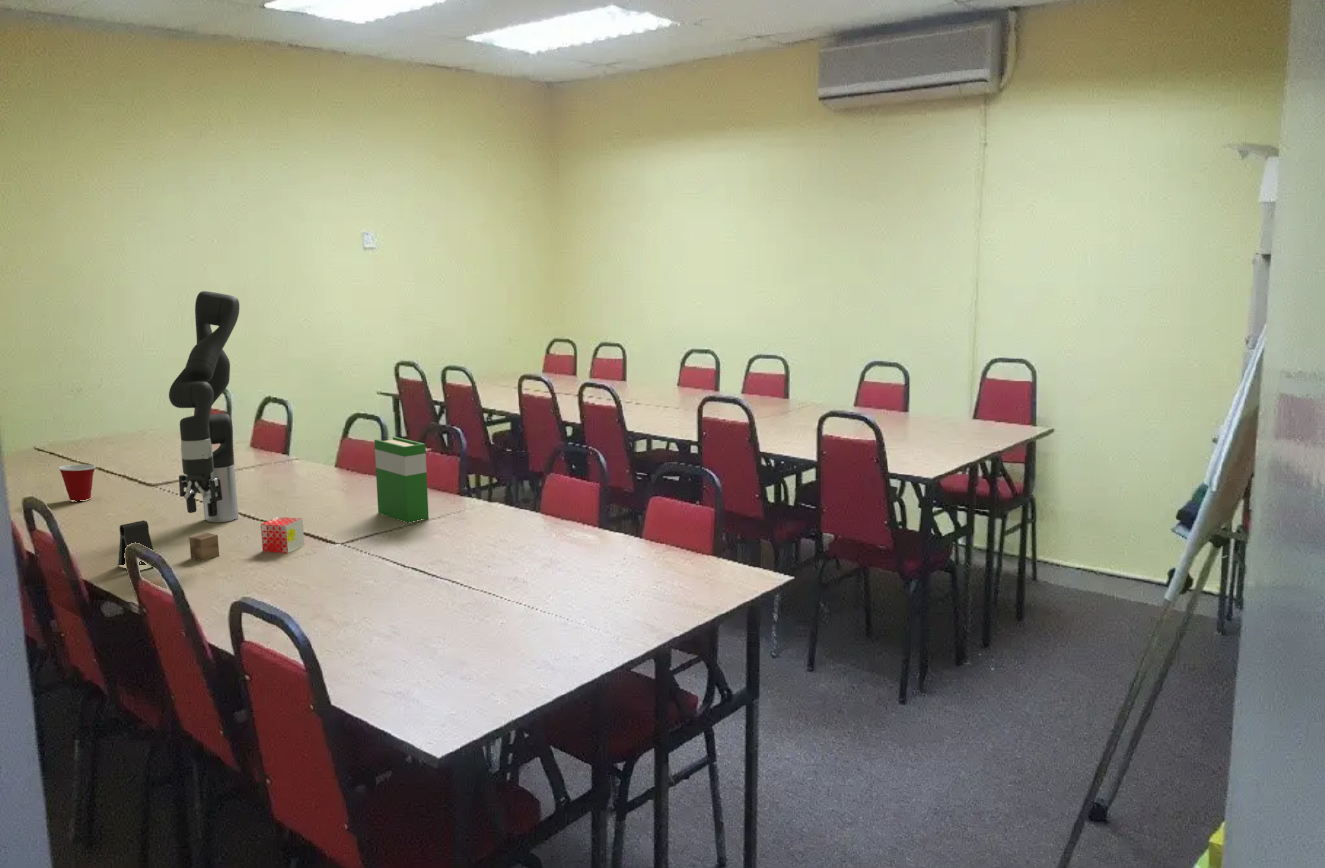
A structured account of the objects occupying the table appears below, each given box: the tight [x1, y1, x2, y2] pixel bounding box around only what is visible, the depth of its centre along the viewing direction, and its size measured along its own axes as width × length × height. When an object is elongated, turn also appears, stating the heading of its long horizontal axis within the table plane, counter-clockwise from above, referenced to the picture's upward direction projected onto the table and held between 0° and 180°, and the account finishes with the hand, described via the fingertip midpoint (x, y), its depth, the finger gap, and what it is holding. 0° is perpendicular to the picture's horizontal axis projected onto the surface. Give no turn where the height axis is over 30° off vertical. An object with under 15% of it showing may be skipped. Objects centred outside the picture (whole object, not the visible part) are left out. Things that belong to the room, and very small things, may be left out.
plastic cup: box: [58, 464, 97, 501], centre depth 317 cm, size 11×11×12 cm
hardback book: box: [374, 436, 430, 524], centre depth 297 cm, size 18×7×24 cm, turn 46°
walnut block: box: [188, 532, 220, 561], centre depth 256 cm, size 5×5×6 cm
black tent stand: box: [117, 520, 154, 570], centre depth 247 cm, size 9×6×12 cm, turn 53°
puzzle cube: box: [260, 516, 305, 554], centre depth 264 cm, size 8×8×8 cm
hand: (202, 514), depth 255 cm, fingers open, 8 cm apart
